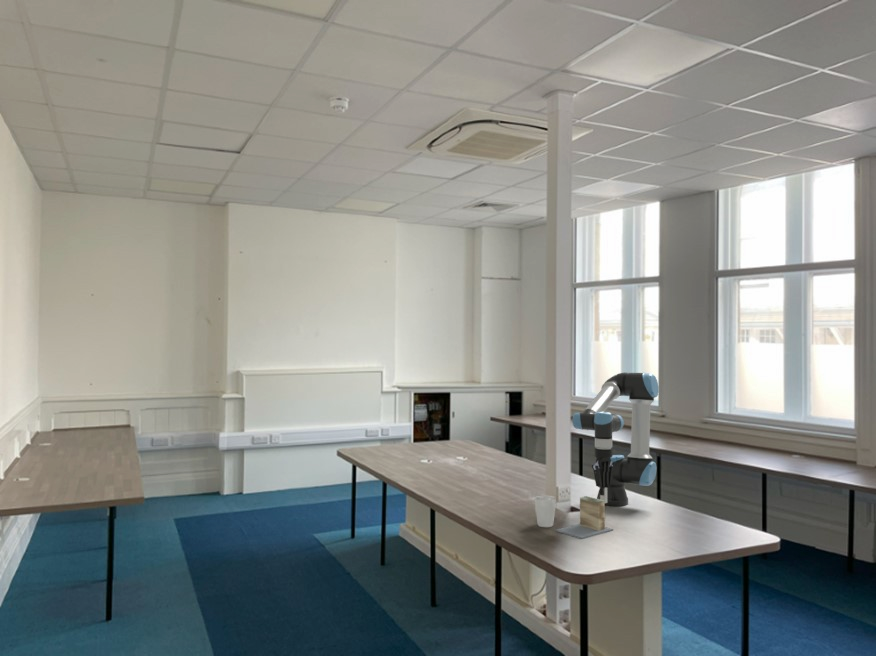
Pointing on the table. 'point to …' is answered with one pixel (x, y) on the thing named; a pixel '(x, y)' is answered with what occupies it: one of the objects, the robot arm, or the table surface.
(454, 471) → the table surface
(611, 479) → the robot arm
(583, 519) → the slab
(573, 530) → the mat
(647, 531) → the table surface
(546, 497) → the white tapered cylinder
